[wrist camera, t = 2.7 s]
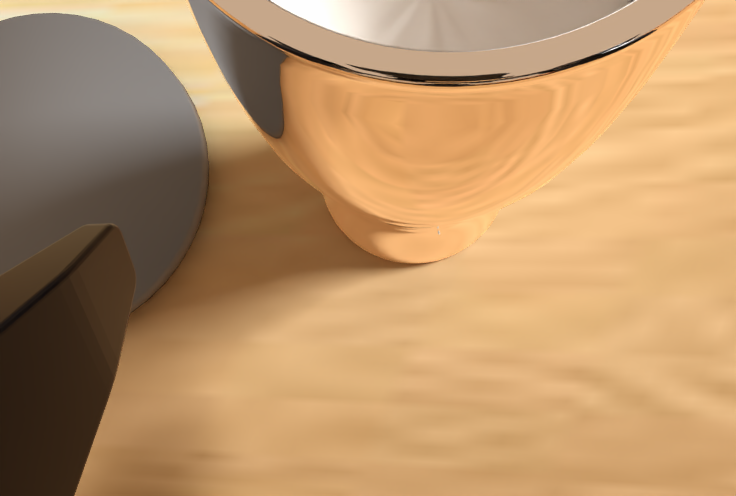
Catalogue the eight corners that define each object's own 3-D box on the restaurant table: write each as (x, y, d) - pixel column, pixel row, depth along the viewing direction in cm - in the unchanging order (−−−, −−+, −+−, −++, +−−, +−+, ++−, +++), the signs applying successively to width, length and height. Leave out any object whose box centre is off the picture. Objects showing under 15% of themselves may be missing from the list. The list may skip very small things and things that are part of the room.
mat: (-43, 401, 20) (-61, 404, 19) (-154, 112, 22) (-175, 103, 21) (263, 248, 20) (257, 244, 20) (130, -28, 22) (120, -41, 21)
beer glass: (267, 208, 21) (-61, -123, 6) (378, 36, 21) (333, -649, 7) (450, 319, 20) (605, 260, 5) (559, 136, 21) (974, -384, 6)
